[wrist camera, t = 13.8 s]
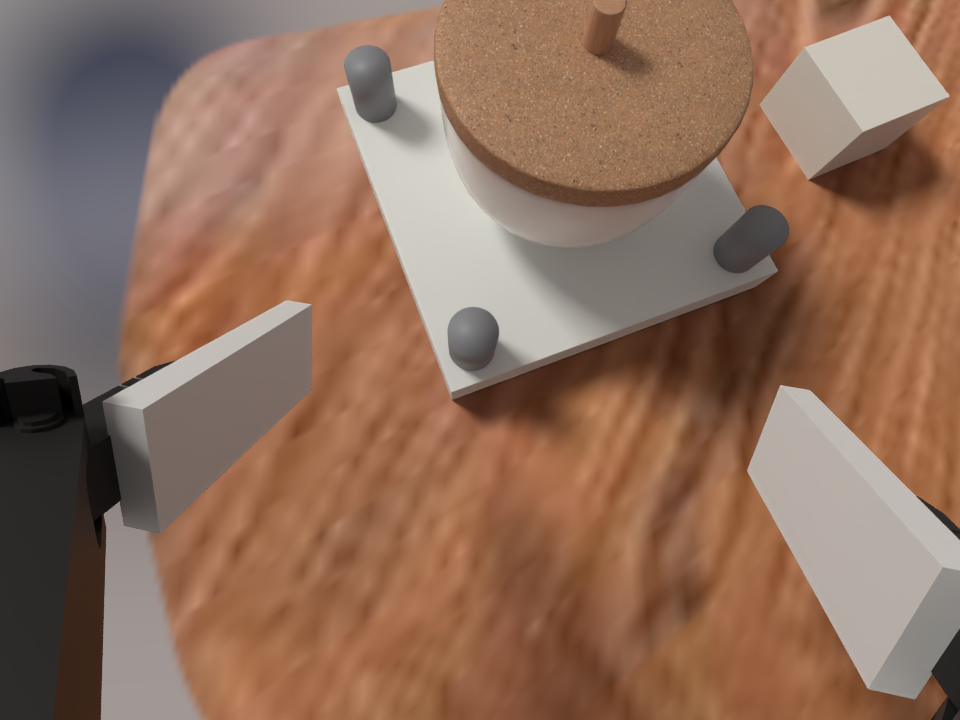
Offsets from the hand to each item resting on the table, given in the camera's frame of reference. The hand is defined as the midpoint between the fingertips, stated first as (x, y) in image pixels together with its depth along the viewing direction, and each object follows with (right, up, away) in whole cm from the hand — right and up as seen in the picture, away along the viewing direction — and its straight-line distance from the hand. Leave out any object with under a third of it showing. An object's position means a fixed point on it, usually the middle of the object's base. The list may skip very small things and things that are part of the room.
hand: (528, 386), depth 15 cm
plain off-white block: (+17, +13, +14) cm, 26 cm away
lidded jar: (+2, +9, +10) cm, 14 cm away
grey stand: (+2, +9, +12) cm, 15 cm away
